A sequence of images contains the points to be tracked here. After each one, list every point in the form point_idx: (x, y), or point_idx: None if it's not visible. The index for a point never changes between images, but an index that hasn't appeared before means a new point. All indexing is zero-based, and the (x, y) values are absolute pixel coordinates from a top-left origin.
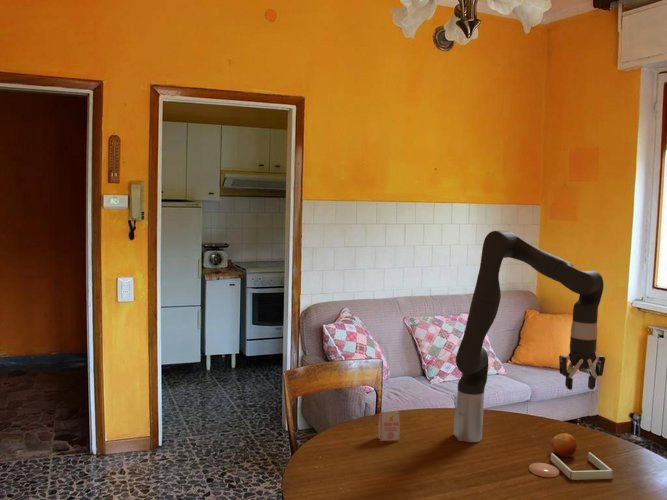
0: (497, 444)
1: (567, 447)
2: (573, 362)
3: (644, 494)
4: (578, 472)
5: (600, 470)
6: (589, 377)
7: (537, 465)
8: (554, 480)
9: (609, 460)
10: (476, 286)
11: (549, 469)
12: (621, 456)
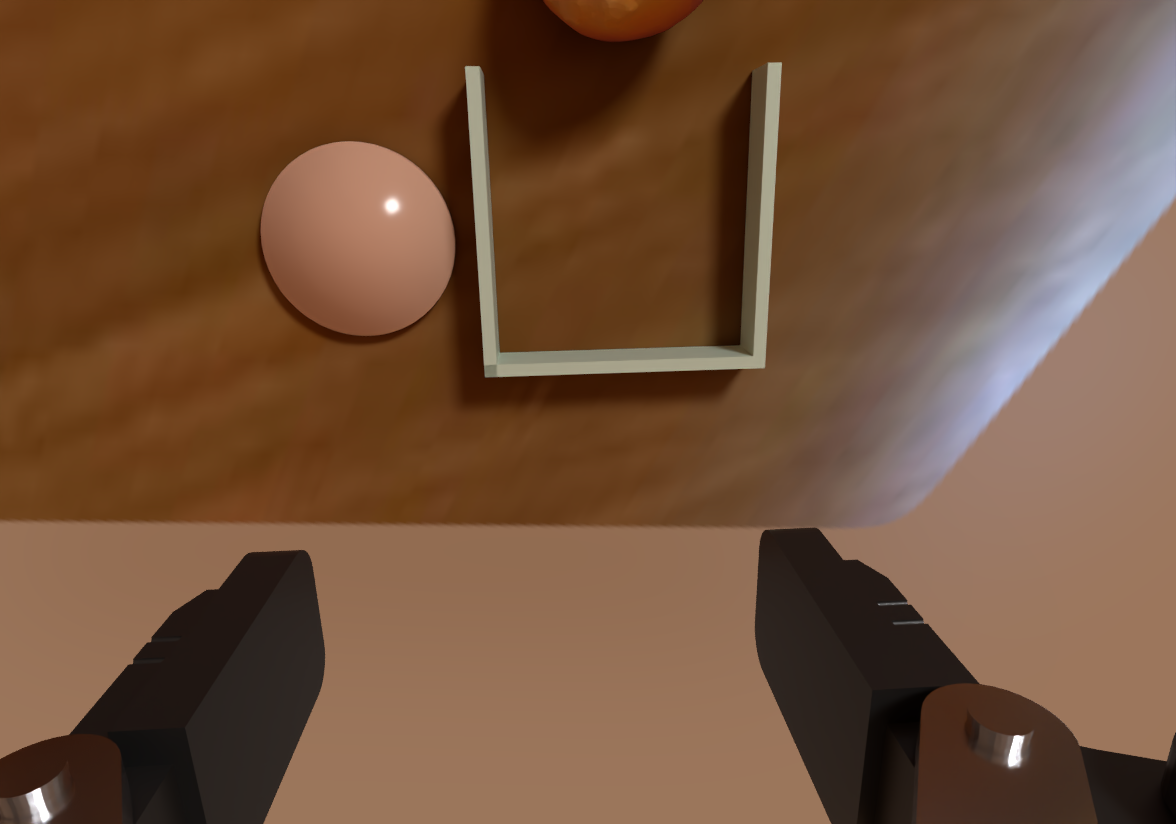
0: None
1: (610, 37)
2: None
3: None
4: (533, 374)
5: (686, 360)
6: (855, 709)
7: (331, 183)
8: (383, 369)
9: (897, 90)
10: None
11: (394, 249)
12: (1028, 24)
